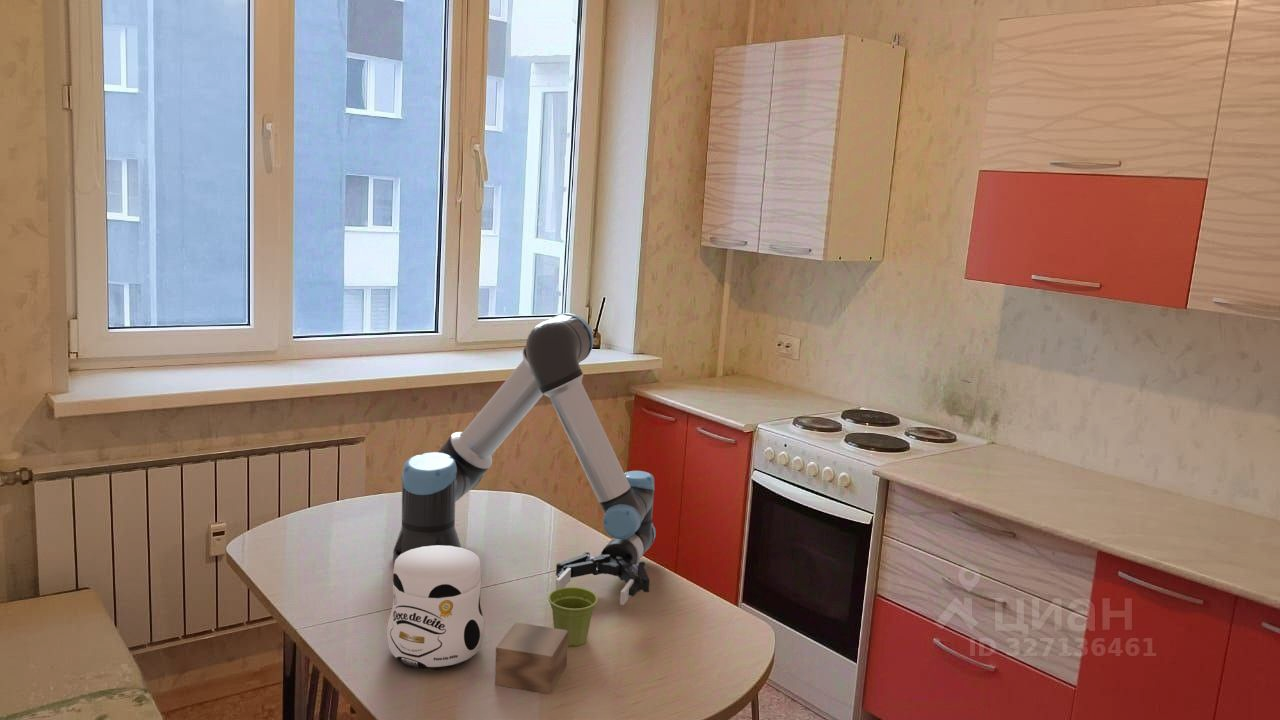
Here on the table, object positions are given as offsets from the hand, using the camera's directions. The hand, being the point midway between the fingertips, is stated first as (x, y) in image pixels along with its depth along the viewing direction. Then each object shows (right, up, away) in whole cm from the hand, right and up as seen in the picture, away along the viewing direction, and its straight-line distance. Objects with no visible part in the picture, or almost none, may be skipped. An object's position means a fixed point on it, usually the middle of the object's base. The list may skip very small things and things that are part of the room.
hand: (589, 592), depth 193 cm
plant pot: (-3, -8, -7) cm, 11 cm away
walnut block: (-9, -10, -21) cm, 25 cm away
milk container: (-27, -8, -15) cm, 32 cm away
